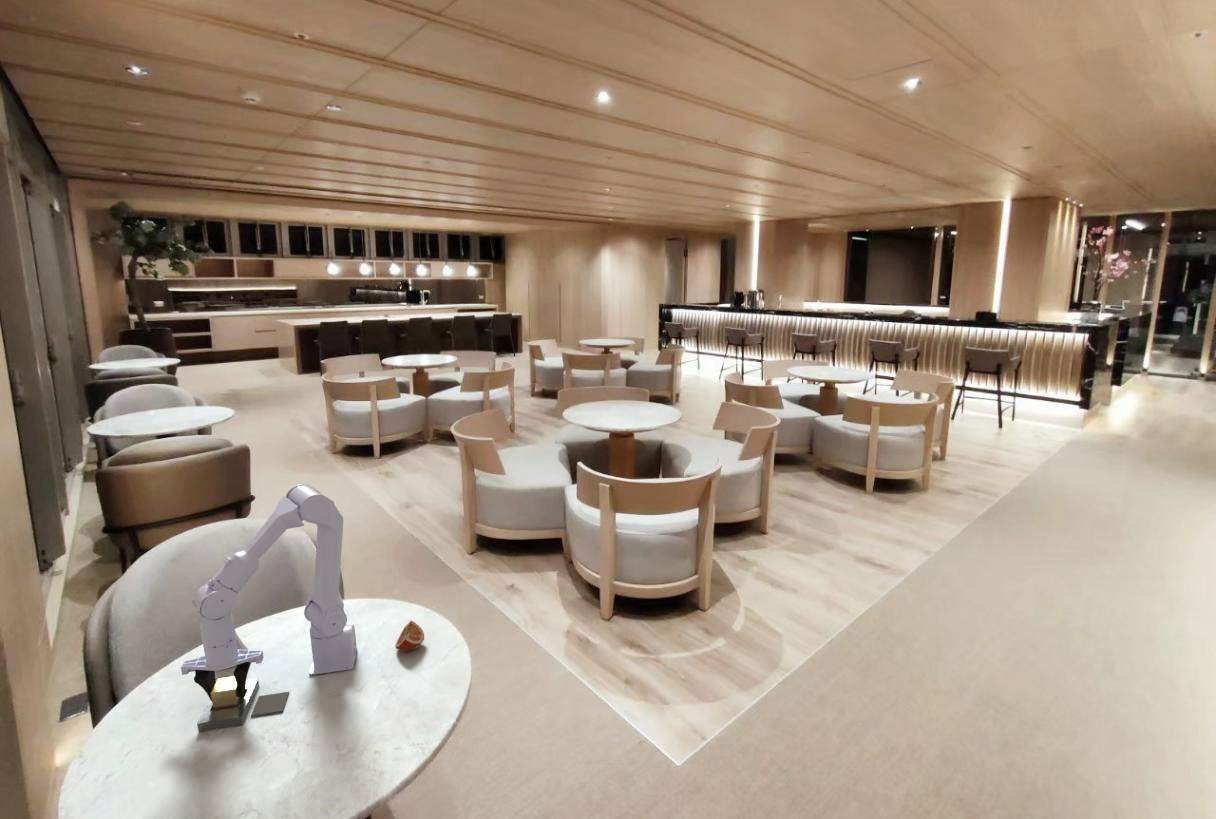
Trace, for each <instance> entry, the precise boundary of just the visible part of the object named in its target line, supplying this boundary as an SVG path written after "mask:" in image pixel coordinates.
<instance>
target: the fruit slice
mask: <svg viewBox="0 0 1216 819" xmlns="http://www.w3.org/2000/svg"><path fill="white" fill-rule="evenodd" d="M424 641H425V632H424V631H423V629H422V628H421V626H419V624H417V622H415V621H413V620H410V621H409V622H408V623H407V624H406V625H405V626H404V628H403V629H402V631H401V633H400V635H399V637H398V639H397V640H396V642H395V648H396V649H397V650H399V651H401V652H409V651H410V652H411V651H412V650H414V649H416V648H418V647H419V646H421V644H422V643H423V642H424Z"/></svg>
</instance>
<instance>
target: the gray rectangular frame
mask: <svg viewBox="0 0 1216 819" xmlns="http://www.w3.org/2000/svg"><path fill="white" fill-rule="evenodd" d="M259 687H260V682H259V678H251V679H246V685H245V692H244V693H245V697H244V699H243V701H242V704H241V706H240V707H237V708H230V709H224V710H217V711H214V709H213V703H212V701H211V700H210V699H209V700H208V701H207V704H206V705H205V708H204V709H203V712H202V713H201V715H200V718H199V719H198V721H197V723H196V725H197V731H198V733H202V732H207V731H213V730H214V731H215V730H219V729H220V730H221V729H226V728H227V729H228V728H232V727H233V728H234V727H239V726H243V725H244V723H245V721H246V718H247V716H248V714H249V711H250V709H251V706H252V705H253V703H254V702H253V701H254V700H255V698H256V695H257V693H258V690H259Z"/></svg>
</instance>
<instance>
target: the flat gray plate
mask: <svg viewBox="0 0 1216 819" xmlns="http://www.w3.org/2000/svg"><path fill="white" fill-rule="evenodd" d="M289 696H290V691H285V692H277V693H271V694H265V695H258V698H257V700H256V702H255V705H254V707H253V709H252V712H251V714H250V718H256V717H262V716H268V715H274V714H282V713H284V711H285V710H284V709H285V706H286V704H287V701H288V699H289Z"/></svg>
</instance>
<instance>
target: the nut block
mask: <svg viewBox="0 0 1216 819" xmlns="http://www.w3.org/2000/svg"><path fill="white" fill-rule="evenodd" d="M244 697H245V693H244V695H243V696H242V697H239V695H238V688H237V683H236V680H235V677H234V675H233V676H228V677H220V678H217V679H216V684H215V686H214V687H213V689H212V691H211V698H212V703H213V709H214V711H217V710H224V709H230V708H237V707H240V706H241V704H242V701H243V699H244Z"/></svg>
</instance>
